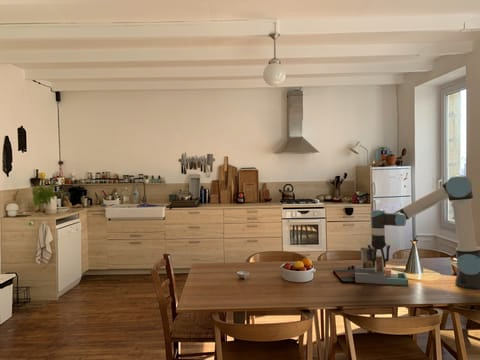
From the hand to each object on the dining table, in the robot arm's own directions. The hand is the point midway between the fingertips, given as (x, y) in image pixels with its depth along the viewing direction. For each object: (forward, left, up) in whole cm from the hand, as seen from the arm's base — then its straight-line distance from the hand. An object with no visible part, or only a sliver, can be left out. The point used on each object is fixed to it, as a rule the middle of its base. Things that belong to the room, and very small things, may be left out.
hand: (379, 271), depth 225 cm
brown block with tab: (0, 0, -2) cm, 2 cm away
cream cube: (-6, 0, -2) cm, 7 cm away
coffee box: (+6, -19, -6) cm, 21 cm away
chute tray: (-9, 0, -5) cm, 11 cm away
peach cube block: (-4, 0, -2) cm, 5 cm away
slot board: (+6, 0, -5) cm, 8 cm away
